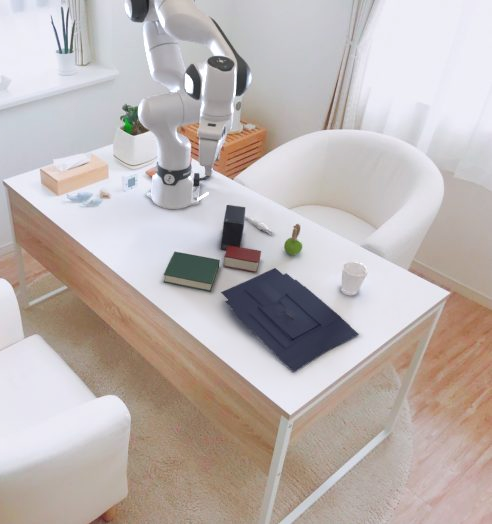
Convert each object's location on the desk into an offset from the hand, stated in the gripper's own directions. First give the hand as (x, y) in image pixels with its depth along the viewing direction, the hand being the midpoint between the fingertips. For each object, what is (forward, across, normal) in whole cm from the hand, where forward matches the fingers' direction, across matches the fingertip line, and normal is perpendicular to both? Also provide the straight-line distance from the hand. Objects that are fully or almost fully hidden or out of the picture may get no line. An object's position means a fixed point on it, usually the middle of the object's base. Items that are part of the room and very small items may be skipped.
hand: (212, 167), depth 163 cm
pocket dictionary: (+29, +3, +12) cm, 32 cm away
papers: (+29, +25, +27) cm, 47 cm away
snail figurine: (+29, -7, +26) cm, 40 cm away
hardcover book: (+29, +13, -1) cm, 32 cm away
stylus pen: (+29, -20, +13) cm, 38 cm away
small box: (+29, -8, +7) cm, 31 cm away
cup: (+29, +5, +44) cm, 53 cm away
